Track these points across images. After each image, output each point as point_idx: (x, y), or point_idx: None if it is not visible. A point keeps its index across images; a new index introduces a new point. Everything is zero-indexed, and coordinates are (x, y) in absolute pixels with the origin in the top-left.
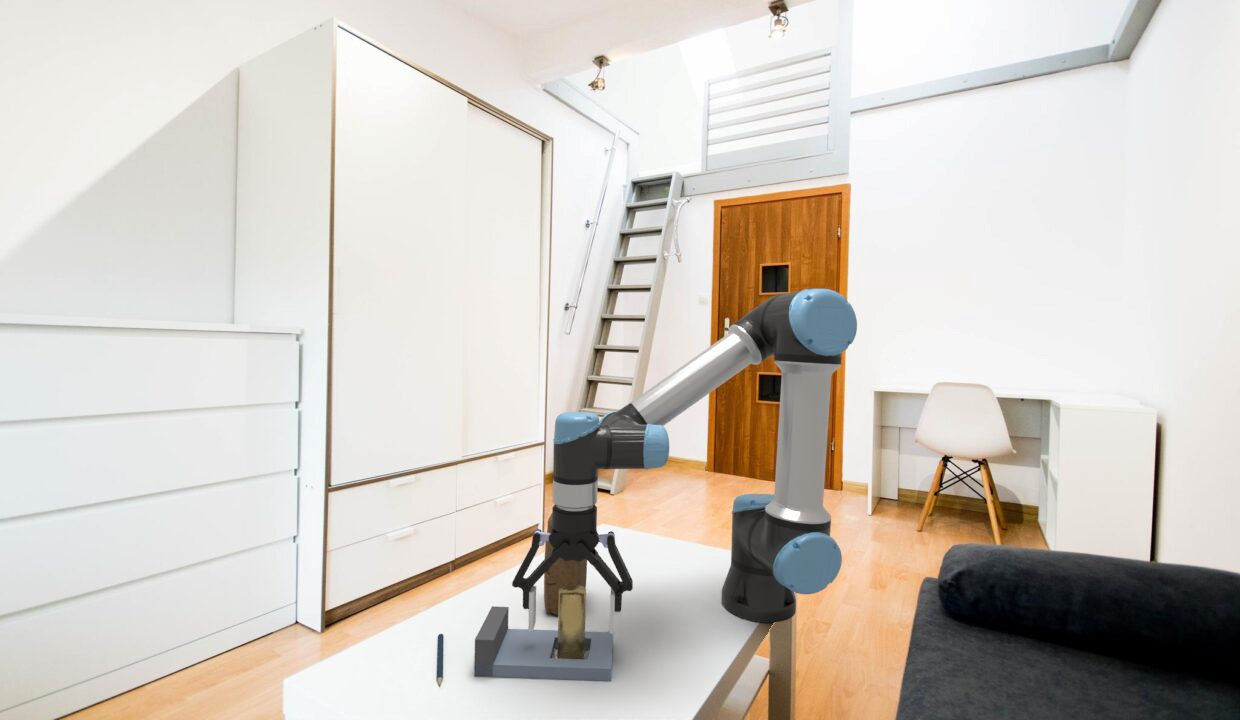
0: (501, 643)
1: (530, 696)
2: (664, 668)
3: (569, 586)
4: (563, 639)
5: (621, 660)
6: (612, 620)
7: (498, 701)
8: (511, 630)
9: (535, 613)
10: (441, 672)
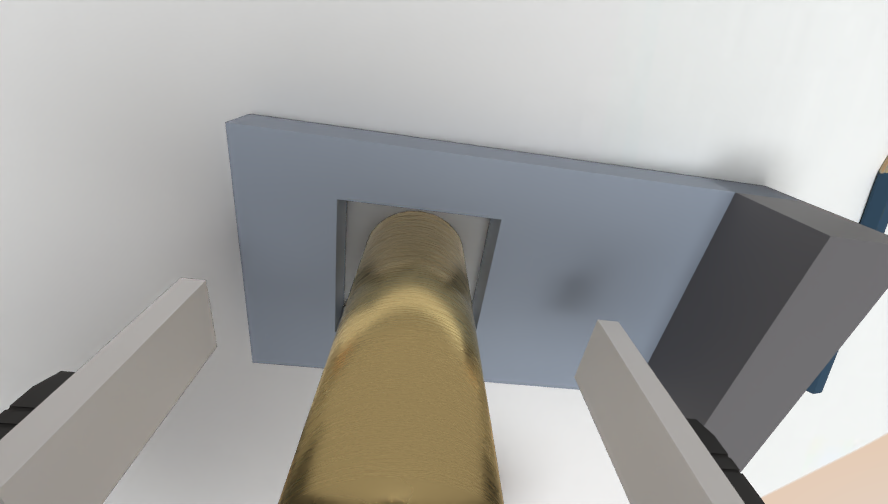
0: (675, 316)
1: (582, 37)
2: (39, 183)
3: None
4: (448, 272)
5: (225, 242)
6: (142, 323)
7: (715, 13)
8: None
9: (594, 410)
10: (885, 202)
